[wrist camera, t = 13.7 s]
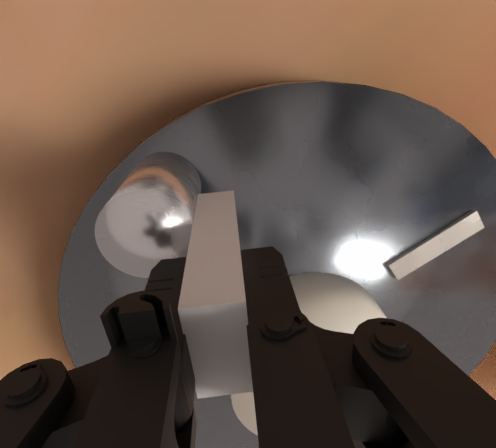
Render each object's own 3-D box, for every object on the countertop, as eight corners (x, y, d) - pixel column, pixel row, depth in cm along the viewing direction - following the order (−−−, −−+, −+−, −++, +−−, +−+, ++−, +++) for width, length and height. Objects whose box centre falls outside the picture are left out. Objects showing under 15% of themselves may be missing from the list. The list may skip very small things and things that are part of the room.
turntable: (-35, 291, 18) (-161, 403, 12) (388, -66, 13) (538, -182, 7) (250, 480, 28) (260, 591, 22) (548, 323, 23) (664, 412, 17)
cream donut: (195, 333, 18) (191, 392, 15) (329, 241, 17) (358, 284, 13) (286, 408, 22) (299, 470, 19) (405, 339, 20) (443, 393, 17)
